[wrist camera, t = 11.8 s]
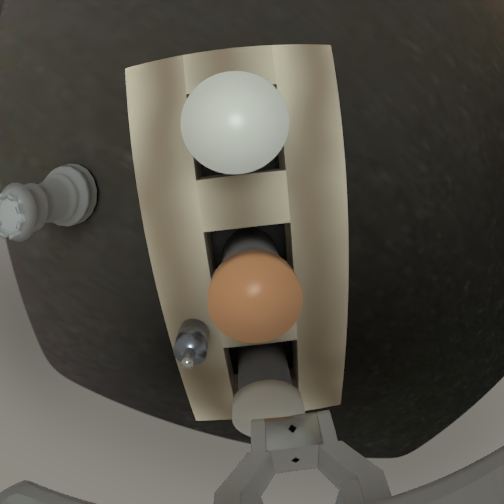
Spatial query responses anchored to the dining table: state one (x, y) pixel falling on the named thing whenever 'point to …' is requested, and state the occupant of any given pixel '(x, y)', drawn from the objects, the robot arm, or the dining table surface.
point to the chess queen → (47, 202)
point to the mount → (247, 212)
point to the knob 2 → (253, 290)
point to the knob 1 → (234, 122)
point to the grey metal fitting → (191, 343)
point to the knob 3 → (264, 386)
